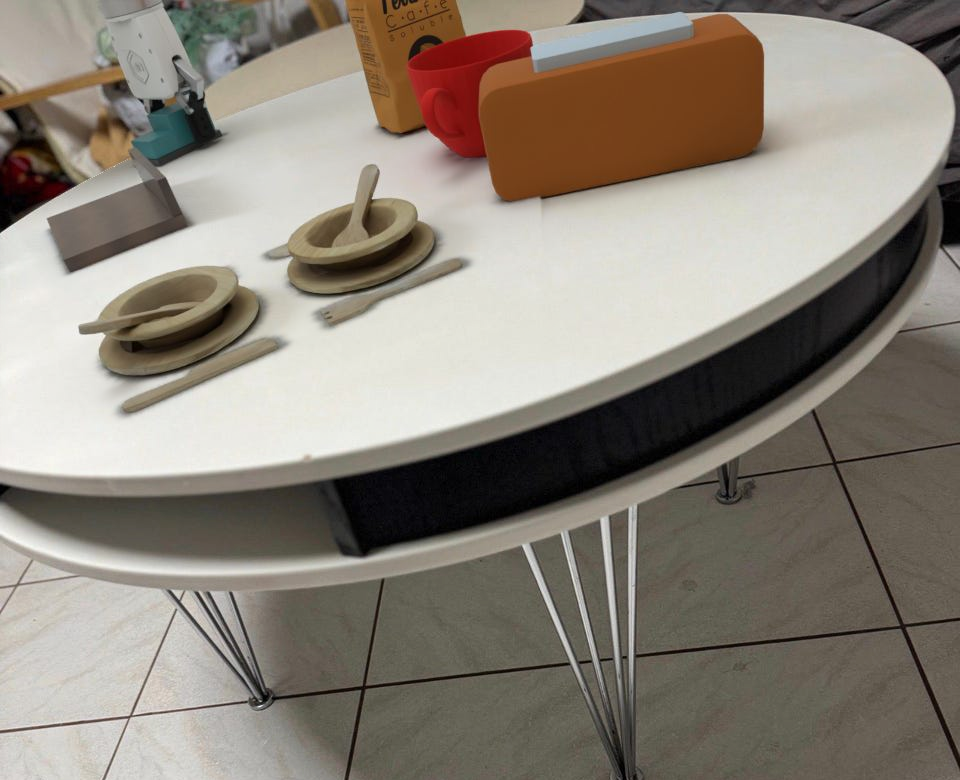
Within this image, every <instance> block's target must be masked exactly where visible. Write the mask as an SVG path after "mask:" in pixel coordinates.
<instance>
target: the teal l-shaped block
mask: <svg viewBox="0 0 960 780" xmlns="http://www.w3.org/2000/svg"><path fill="white" fill-rule="evenodd" d="M186 99H187V101H188V100H189V98H186ZM205 108H206V111H207V113H208V116H209V118H210V121H211V123H212V126H213V128H214V131H215V133H216V136H215V137H214V138H212V139H210V140H208V141H206V142H204V143H202V144H196V142H195V140H194V137H193V135H192V133H191V130H190V128H189V125H188V123H187V121H186V118H185V116H184V115H186V114H187V113H186V111H185V110H184V109H183V107H182V106H181V105H180V103H179V102H178V101H175V102H173V103H171V104H169V105H166V107H164V108H162V109H160V110H158V111H155V112H153V113H151V114H147V115H146V118H147V119H148V122H149V124H150V127H151V128H152V130H150V131H149V132H146V133H145V134H142V135H140V136H138V137H136V138H134V139H132V140H130V143H131V145H132V148H134V147H136V148H137V149H138V150H139V151H140V152H141V153H142V154H143V155H144V156H145V157H146V158H147V159H148V160H149V161H150V162H151V163H152V164H153V165H154V166H155V167H163V166H165V165H166V164H169V163H170V162H173V161H174V160H177V159H178V158H181V157H183V156H185V155H187V154H188V153H190V152H193V151H194V150H197V149H199V148H200V147H202V146H205V145H207V144H209V143H211V142H213V141H215V140H217V139H218V138H221V137H223V134H222V132H221V129H216V127H215V124H214V122H213V119H212V117H211V114H210V112H209V110H208V107H207V106H206V107H205Z"/></svg>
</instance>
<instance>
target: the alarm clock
mask: <svg viewBox="0 0 960 780" xmlns="http://www.w3.org/2000/svg"><path fill="white" fill-rule="evenodd" d="M531 54H532V56H531V57H526V58H522V59H517V60H513V61H509V62H504V63H500V64H496V65H494V66H492V67H490V68H489V69H488V70H487V71H486V72H485V73H484V74H483V76H482V79H481V81H480V88H479V121H480V125H481V130H482V135H483V140H484V145H485V150H486V155H487V156H486V160H487V164H488V169H489V170H488V171H489V174H490V179H491V184H492V187H493V189H494V192H495V193H496V194H497V196H499V197H500V198H501V199H502V200H505V201H507V202H515V201H520V200H525V199H531V198H535V197H540V198H547V197H551V196H557V195H561V194H567V193H571V192H576V191H581V190H585V189H591V188H595V187H600V186H606V185H610V184H615V183H621V182H625V181H630V180H635V179H641V178H645V177H649V176H654V175H660V174H665V173H669V172H675V171H679V170H680V171H681V170H685V169H690V168H695V167H699V166H704V165H705V166H706V165H709V164H715V163H719V162H724V161H728V160H734V159H739V158H741V157H744V156H747V155H750V153H751V152H753V151H754V150H756V148H757V147H758V145H759V144H760V142H761V140H762V138H763V135H764V130H765V129H764V128H765V52H764V47H763V43H762V42H761V41H760V39H759V38H758V37H757V35H756V34H755V33H753V32H752V31H751V30H749V29H748V28H747V27H746V25H744V24H743V23H742V22H740V20H738V19H737V18H736V17H735V16H732V15H730V14H728V13H716V14H712V15H711V14H710V15H708V16H701V17H699V18H694V19H690V18H689V17H688V15H686V13H684V12H682V11H677V12H673V13H672V12H671V13H668V14H663V15H659V16H655V17H651V18H648V19H642V20H637V21H634V22H629V23H625V24H620V25H616V26H611V27H607V28H602V29H599V30H593V31H590V32H585V33H580V34H577V35H572V36H568V37H563V38H560V39H554V40H551V41H546V42H541V43H538V44H533V46H532V47H531Z"/></svg>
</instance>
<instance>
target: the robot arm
mask: <svg viewBox="0 0 960 780" xmlns="http://www.w3.org/2000/svg"><path fill="white" fill-rule="evenodd" d="M96 1H97V3H98V6H99V8H100V10H101V12H102V15H103V17H104V19H105V24H106V28H107V31H108V33H109V34H108V35H109V38H110V41H111V44H112V47H113V50H114V53H115V56H116V58H117V61H118V63H119V66H120V68H121V71H122V73H123V76H124V78H125V80H126V83H127V85H128V88H129V90H130V92H131V94H132V95H133V96H134V97H135V98H137V100H138V102H140V104H142V105H143V108H144V112H146V114H147V115H149V114H151V113H153V112H155V111H158V110H160V109H162V108H164V107H166V106H167V105H166V100H171V99H172V98H175V99H176V102H179V103H180V105H181V106H182V107H183V109H184V110H185V111H186V113H187V114H186V115H184V116H185V118H186V121H187V123H188V125H189V128H190V130H191V133H192V135H193V137H194V140H195V142H196V144H202V143H204V142H206V141H208V140H210V139H212V138H214V137H215V136H216V133H215V131H214V128H213V126H212V123H211V121H210V118H209V116H208V113H207V111H206V108H205V107H207V102H206V100H205V99H206V92H205V79H204V77H203V76H202V75H201V74H200V73H199V72H198V71H196V70H195V69H194V68H193V66H192V63H191V60H190V58H189V56H188V53H187V51H186V49H185V47H184V45H183V42H182V41H181V39H180V36H179V34H178V32H177V30H176V28H175V25H174V23H173V22H172V20H171V18H170V17H169V15H168V13H167V11H166V9H165V8H164V6H165V5H164V2H163V0H96ZM187 95H188V98H186V97H185V96H187ZM187 99H189V100H188V101H187Z"/></svg>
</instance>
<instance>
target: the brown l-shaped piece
mask: <svg viewBox="0 0 960 780" xmlns="http://www.w3.org/2000/svg"><path fill="white" fill-rule="evenodd" d="M127 152H128V154H129V156H130V158H131V160H132V162H133V164H134V167H135V169H136V171H137V173H138V175H139V177H140V179H141V181H142V182H140V183H137V184H134V185H132V186H129V187H126V188H123V189H121V190H119V191H116V192H113V193H110V194H107V195H105V196H101V197H99V198H98V199H94V200H92V201H88V202H86V203H83V204H80V205H78V206H76V207H72V208H70V209H67V210H64V211H62V212H60V213H59V212H58V213H57V214H54V215H51V216H48V217H46V221H47V223H48V225H49V228H50V231H51V233H52V236H53V238H54V241H55V243H56V246H57V248H58V250H59V253H60V255H61V259H62V260H63V262H64V264H65V266H66V267H67V269H68V271H69V273H73V272H75V271H78V270H81V269H83V268H86V267H89V266H91V265H93V264H96V263H98V262H101V261H103V260H106V259H109V258H111V257H113V256H117V255H119V254H122V253H124V252H126V251H128V250H131V249H134V248H137V247H139V246H142V245H144V244H146V243H150V242H152V241H154V240H156V239H159V238H161V237H164V236H167V235H170V234H172V233H175V232H177V231H180V230H182V229H185V228H187V227H189V225H188V223H187V220H186V219H185V215H184V213H183V212H182V209H181V207H180V205H179V203H178V201H177V198H176V196H175V194H174V191H173V189H172V187H171V185H170V183H169V181H168V178H167V177H166V176H165V175H164V174H163V173H162V172H161V171H160V170H159V169H158V168H157V166H154V165H153V164H152V163H151V162H150V161H149V160H148V159H147V158H146V157H145V156H144V155H143V154H142V153H141V152H140V151H139V150H138V149H137V148H136V147H132V148H129V149H127Z"/></svg>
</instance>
